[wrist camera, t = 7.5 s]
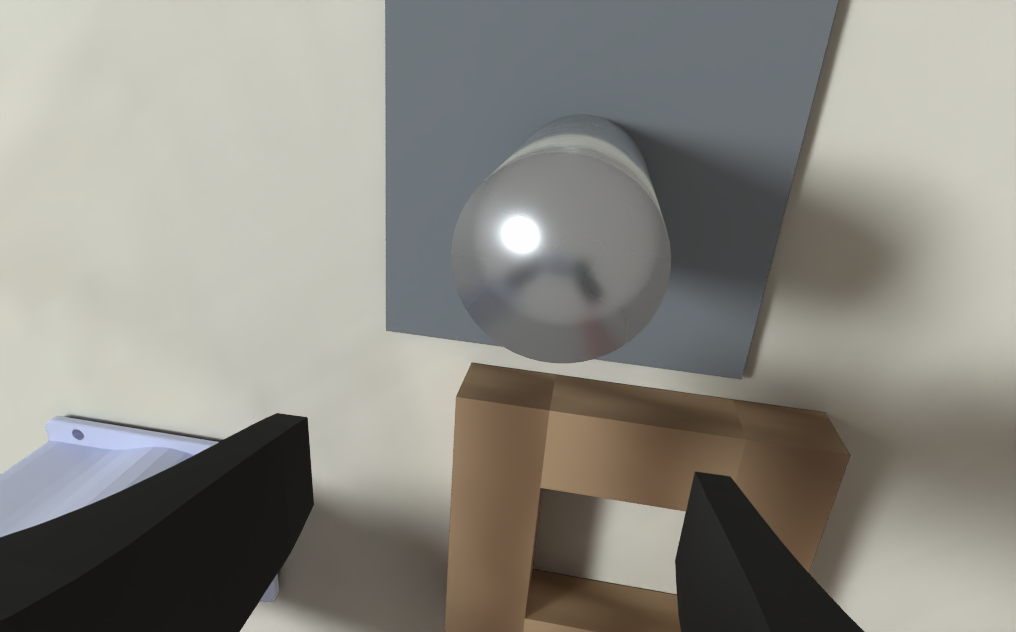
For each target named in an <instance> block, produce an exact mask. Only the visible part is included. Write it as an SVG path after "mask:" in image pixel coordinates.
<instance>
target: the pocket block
mask: <svg viewBox="0 0 1016 632" xmlns="http://www.w3.org/2000/svg"><path fill="white" fill-rule="evenodd" d="M849 457H850V454H849V452H848V450H847V448H846V447H845V445H844V443H843V442H842V440H841V438H840V437H839V435H838V433H837V432H836V430H835V428H834V427H833V425H832V423H831V422H830V420H829V418H828V417H827V415H826V413H824V412H817V411H809V410H802V409H795V408H788V407H781V406H774V405H767V404H760V403H753V402H746V401H738V400H731V399H724V398H717V397H710V396H703V395H696V394H689V393H682V392H675V391H667V390H660V389H653V388H646V387H639V386H632V385H625V384H618V383H611V382H604V381H596V380H589V379H582V378H575V377H568V376H561V375H554V374H547V373H540V372H533V371H525V370H518V369H511V368H504V367H497V366H490V365H483V364H476V363H471V365H470V368H469V370H468V372H467V374H466V376H465V378H464V381H463V383H462V385H461V387H460V389H459V392H458V394H457V396H456V409H455V429H454V449H453V469H452V490H451V510H450V530H449V551H448V571H447V591H446V611H445V632H681V628H680V622H679V616H678V601H677V595H673V594H667V593H662V592H656V591H650V590H645V589H639V588H633V587H628V586H622V585H616V584H611V583H605V582H599V581H594V580H588V579H582V578H577V577H571V576H565V575H560V574H554V573H548V572H543V571H537V570H532V569H533V561H534V552H535V544H536V536H537V527H538V519H539V511H540V503H541V494H542V488H544V489H551V490H557V491H563V492H569V493H575V494H582V495H588V496H594V497H600V498H606V499H612V500H619V501H625V502H631V503H637V504H643V505H650V506H656V507H662V508H668V509H674V510H681V511H686V509H687V505H688V500H689V496H690V491H691V486H692V482H693V477H694V473H695V471H696V472H703V473H710V474H717V475H724V476H730V477H731V478H732V479H733V480H734V482H735V483H736V484H737V485H738V487H739V488H740V489H741V491H742V492H743V493H744V494H745V496H746V497H747V498H748V500H749V501H750V502H751V503H752V505H753V506H754V507H755V509H756V510H757V511H758V512H759V514H760V515H761V516H762V517H763V519H764V520H765V521H766V523H767V524H768V525H769V526H770V528H771V529H772V530H773V531H774V533H775V534H776V535H777V536H778V538H779V539H780V540H781V541H782V542H783V544H784V545H785V546H786V547H787V548H788V550H789V551H790V552H791V553H792V554H793V556H794V557H795V558H796V559H797V560H798V561H799V563H800V564H801V565H802V566H803V567H804V568H805V570H806V571H807V572H808V573H809V570H810V567H811V565H812V562H813V559H814V556H815V553H816V550H817V548H818V545H819V542H820V539H821V536H822V534H823V531H824V528H825V525H826V522H827V519H828V517H829V514H830V511H831V508H832V505H833V503H834V500H835V497H836V494H837V491H838V488H839V486H840V483H841V480H842V477H843V474H844V472H845V469H846V466H847V463H848V460H849Z"/></svg>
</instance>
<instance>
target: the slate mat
mask: <svg viewBox="0 0 1016 632" xmlns="http://www.w3.org/2000/svg"><path fill="white" fill-rule="evenodd" d="M837 4H838V0H385V43H386V331H392V332H400V333H407V334H414V335H422V336H429V337H436V338H443V339H451V340H458V341H465V342H473V343H480V344H487V345H494V346H502V345H500V344H499V343H497V342H496V341H494V340H493V339H492V338H491V337H489V336H488V335H487V334H486V333H485V332H484V331H483V330H482V329H481V328H480V327H479V326H478V325H477V324H476V323H475V321H474V320H473V319H472V317H471V316H470V315H469V313H468V312H467V310H466V309H465V307H464V305H463V303H462V301H461V299H460V297H459V294H458V291H457V289H456V286H455V282H454V278H453V273H452V264H451V247H452V240H453V234H454V230H455V227H456V224H457V221H458V218H459V216H460V214H461V212H462V210H463V208H464V206H465V204H466V203H467V201H468V200H469V198H470V197H471V195H472V194H473V193H474V192H475V190H476V189H477V188H478V187H479V186H480V185H481V184H482V183H483V182H484V181H485V180H486V179H487V178H488V177H489V176H490V175H491V174H492V173H493V172H494V171H495V170H496V169H497V168H498V167H499V166H501V165H502V164H503V163H504V162H505V161H506V160H507V159H508V158H509V157H510V156H511V155H512V154H513V153H514V152H515V151H516V150H517V149H518V148H519V147H521V146H522V145H523V144H524V143H525V142H526V141H527V140H528V139H529V138H530V137H531V136H532V135H533V134H534V133H535V132H537V131H538V130H539V129H540V128H541V127H543V126H544V125H546V124H547V123H549V122H551V121H554V120H556V119H558V118H561V117H564V116H570V115H579V114H585V115H594V116H598V117H602V118H604V119H607V120H610V121H611V122H613V123H615V124H617V125H618V126H620V127H621V128H622V129H624V130H625V131H626V132H627V133H628V134H629V135H630V136H631V137H632V138H633V140H634V141H635V142H636V144H637V145H638V147H639V149H640V151H641V153H642V155H643V158H644V160H645V163H646V166H647V169H648V173H649V176H650V179H651V182H652V185H653V188H654V191H655V194H656V198H657V201H658V204H659V207H660V210H661V213H662V216H663V219H664V223H665V226H666V229H667V233H668V237H669V241H670V250H671V271H670V277H669V282H668V286H667V289H666V292H665V295H664V298H663V300H662V302H661V304H660V306H659V308H658V310H657V312H656V313H655V315H654V316H653V318H652V319H651V321H650V322H649V323H648V324H647V325H646V327H645V328H644V329H643V330H642V331H641V332H640V333H639V334H638V335H637V336H635V337H634V338H633V339H632V340H631V341H629V342H628V343H626V344H625V345H623V346H622V347H620V348H619V349H617V350H615V351H613V352H611V353H609V354H607V355H604V356H601V357H598V358H595V359H597V360H604V361H611V362H618V363H626V364H633V365H640V366H648V367H655V368H662V369H669V370H677V371H684V372H691V373H699V374H706V375H713V376H721V377H728V378H735V379H742V375H743V371H744V368H745V364H746V360H747V356H748V352H749V348H750V344H751V340H752V336H753V332H754V328H755V325H756V321H757V317H758V313H759V309H760V305H761V301H762V297H763V293H764V289H765V286H766V282H767V278H768V274H769V270H770V266H771V262H772V258H773V254H774V250H775V246H776V243H777V239H778V235H779V231H780V227H781V223H782V219H783V215H784V211H785V207H786V203H787V200H788V196H789V192H790V188H791V184H792V180H793V176H794V172H795V168H796V164H797V161H798V157H799V153H800V149H801V145H802V141H803V137H804V133H805V129H806V125H807V121H808V118H809V114H810V110H811V106H812V102H813V98H814V94H815V90H816V86H817V82H818V78H819V75H820V71H821V67H822V63H823V59H824V55H825V51H826V47H827V43H828V39H829V35H830V32H831V28H832V24H833V20H834V16H835V12H836V8H837ZM502 347H503V346H502Z"/></svg>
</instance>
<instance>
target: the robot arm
mask: <svg viewBox="0 0 1016 632" xmlns="http://www.w3.org/2000/svg"><path fill="white" fill-rule="evenodd" d="M46 431H47V435H48V439H49V442H47V443H46V444H44V445H43V446H41V447H40V448H38V449H37V450H35V451H34V452H32V453H31V454H29V455H28V456H27V457H25V458H24V459H22V460H21V461H19V462H18V463H16V464H15V465H13V466H12V467H10V468H9V469H8V470H6V471H5V472H3V473H2V474H0V632H240V630H241V629H242V627H243V626H244V624H245V622H246V621H247V619H248V618H249V616H250V615H251V613H252V612H253V610H254V609H255V607H256V606H257V604H258V603H259V601H264V602H271V601H273V600H274V599H275V598H276V597H277V595H278V593H279V583H278V572H279V570H280V569H281V567H282V566H283V564H284V562H285V561H286V559H287V558H288V556H289V554H290V553H291V551H292V549H293V547H294V545H295V543H296V541H297V539H298V537H299V535H300V533H301V531H302V529H303V527H304V525H305V522H306V520H307V518H308V516H309V514H310V512H311V509H312V507H313V505H314V501H313V487H312V473H311V459H310V445H309V431H308V418H307V417H301V416H293V415H286V414H279V413H277V414H274V415H272V416H270V417H267V418H265V419H263V420H261V421H259V422H257V423H255V424H253V425H251V426H249V427H247V428H245V429H243V430H241V431H240V432H238V433H236V434H234V435H232V436H230V437H228V438H226V439H224V440H222V441H221V442H216V441H210V440H203V439H197V438H191V437H185V436H179V435H173V434H167V433H160V432H154V431H148V430H142V429H136V428H130V427H124V426H117V425H111V424H105V423H99V422H93V421H87V420H81V419H74V418H68V417H62V416H56V417H54V418H52V419H51V420H49V421H48V422H47V423H46ZM675 565H676V585H677V601H678V616H679V622H680V628H681V632H864V631H863V630H862V629H861V628H860V627H859V626H858V625H857V624H856V623H855V622H854V621H853V620H852V619H851V618H850V617H849V616H848V615H847V614H846V613H845V612H844V611H843V610H842V609H841V608H840V606H839V605H838V604H837V603H836V602H835V601H834V600H833V599H832V598H831V597H830V596H829V595H828V594H827V593H826V592H825V590H824V589H823V588H822V587H821V586H820V585H819V584H818V583H817V582H816V581H815V580H814V579H813V577H812V576H811V575H810V574H809V573H808V572H807V571H806V570H805V568H804V567H803V566H802V565H801V564H800V563H799V561H798V560H797V559H796V558H795V557H794V556H793V554H792V553H791V552H790V551H789V550H788V548H787V547H786V546H785V545H784V544H783V542H782V541H781V540H780V539H779V538H778V536H777V535H776V534H775V533H774V531H773V530H772V529H771V528H770V526H769V525H768V524H767V523H766V521H765V520H764V519H763V517H762V516H761V515H760V514H759V512H758V511H757V510H756V509H755V507H754V506H753V505H752V503H751V502H750V501H749V500H748V498H747V497H746V496H745V494H744V493H743V492H742V491H741V489H740V488H739V487H738V485H737V484H736V483H735V482H734V480H733V479H732V478H731V477H730V476H724V475H717V474H710V473H703V472H696V471H695V473H694V477H693V482H692V486H691V491H690V496H689V500H688V505H687V509H686V514H685V518H684V523H683V528H682V532H681V537H680V541H679V546H678V550H677V555H676V560H675Z"/></svg>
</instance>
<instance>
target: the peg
mask: <svg viewBox="0 0 1016 632" xmlns="http://www.w3.org/2000/svg"><path fill="white" fill-rule="evenodd" d="M451 264H452V273H453V278H454V282H455V286H456V289H457V291H458V294H459V297H460V299H461V301H462V303H463V305H464V307H465V309H466V310H467V312H468V313H469V315H470V316H471V317H472V319H473V320H474V321H475V323H476V324H477V325H478V326H479V327H480V328H481V329H482V330H483V331H484V332H485V333H486V334H487V335H488V336H489V337H491V338H492V339H493V340H494V341H496V342H497V343H499V344H500V345H502V346H503V347H505V348H507V349H509V350H510V351H512V352H514V353H517V354H519V355H522V356H524V357H527V358H530V359H534V360H538V361H543V362H550V363H575V362H583V361H587V360H592V359H595V358H598V357H601V356H604V355H607V354H609V353H611V352H613V351H615V350H617V349H619V348H620V347H622V346H623V345H625V344H626V343H628V342H629V341H631V340H632V339H633V338H634V337H635V336H637V335H638V334H639V333H640V332H641V331H642V330H643V329H644V328H645V327H646V325H647V324H648V323H649V322H650V321H651V319H652V318H653V316H654V315H655V313H656V312H657V310H658V308H659V306H660V304H661V302H662V300H663V298H664V295H665V292H666V289H667V286H668V282H669V277H670V271H671V250H670V241H669V237H668V233H667V229H666V226H665V223H664V219H663V216H662V213H661V210H660V207H659V204H658V201H657V198H656V194H655V191H654V188H653V185H652V182H651V179H650V176H649V173H648V169H647V166H646V163H645V160H644V158H643V155H642V153H641V151H640V149H639V147H638V145H637V144H636V142H635V141H634V140H633V138H632V137H631V136H630V135H629V134H628V133H627V132H626V131H625V130H624V129H622V128H621V127H620V126H618V125H617V124H615V123H613V122H611V121H610V120H607V119H604V118H602V117H598V116H594V115H585V114H579V115H570V116H564V117H561V118H558V119H556V120H554V121H551V122H549V123H547V124H546V125H544V126H543V127H541V128H540V129H539V130H538V131H537V132H535V133H534V134H533V135H532V136H531V137H530V138H529V139H528V140H527V141H526V142H525V143H524V144H523V145H522V146H521V147H519V148H518V149H517V150H516V151H515V152H514V153H513V154H512V155H511V156H510V157H509V158H508V159H507V160H506V161H505V162H504V163H503V164H502V165H501V166H499V167H498V168H497V169H496V170H495V171H494V172H493V173H492V174H491V175H490V176H489V177H488V178H487V179H486V180H485V181H484V182H483V183H482V184H481V185H480V186H479V187H478V188H477V189H476V190H475V192H474V193H473V194H472V195H471V197H470V198H469V200H468V201H467V203H466V204H465V206H464V208H463V210H462V212H461V214H460V216H459V218H458V221H457V224H456V227H455V230H454V234H453V240H452V247H451Z"/></svg>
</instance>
